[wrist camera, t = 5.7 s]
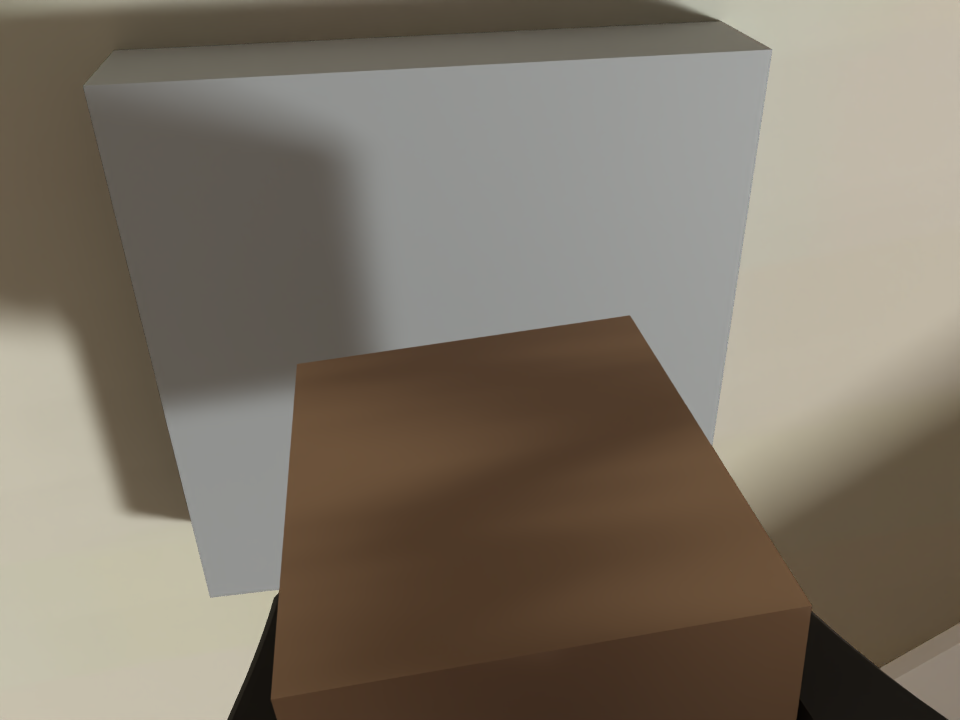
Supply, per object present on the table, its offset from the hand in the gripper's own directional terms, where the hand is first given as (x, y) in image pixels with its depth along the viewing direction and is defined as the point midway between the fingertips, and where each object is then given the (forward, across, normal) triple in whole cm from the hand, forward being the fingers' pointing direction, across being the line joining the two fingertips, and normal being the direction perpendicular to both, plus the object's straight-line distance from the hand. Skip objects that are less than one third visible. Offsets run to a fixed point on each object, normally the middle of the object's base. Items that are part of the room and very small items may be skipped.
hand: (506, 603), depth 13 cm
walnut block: (+2, 0, -1) cm, 2 cm away
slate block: (+10, 0, 0) cm, 10 cm away
